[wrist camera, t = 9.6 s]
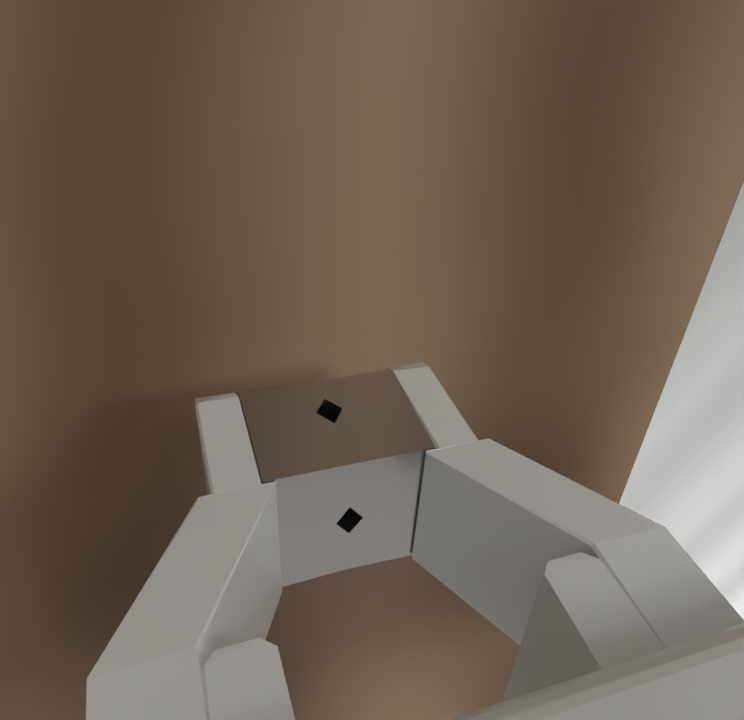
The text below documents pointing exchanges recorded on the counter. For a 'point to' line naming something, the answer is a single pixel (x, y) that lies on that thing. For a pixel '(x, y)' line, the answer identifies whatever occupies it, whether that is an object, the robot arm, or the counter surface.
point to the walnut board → (333, 282)
